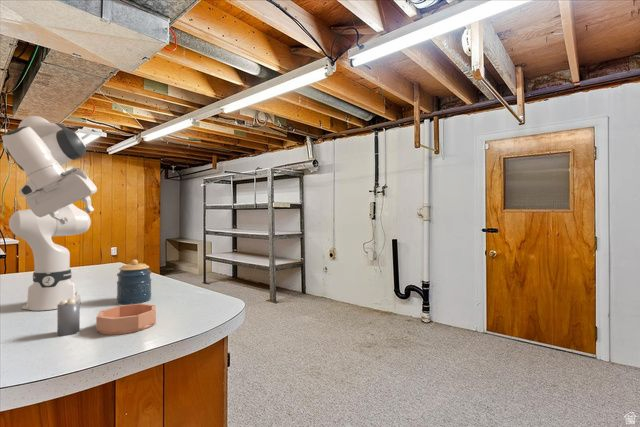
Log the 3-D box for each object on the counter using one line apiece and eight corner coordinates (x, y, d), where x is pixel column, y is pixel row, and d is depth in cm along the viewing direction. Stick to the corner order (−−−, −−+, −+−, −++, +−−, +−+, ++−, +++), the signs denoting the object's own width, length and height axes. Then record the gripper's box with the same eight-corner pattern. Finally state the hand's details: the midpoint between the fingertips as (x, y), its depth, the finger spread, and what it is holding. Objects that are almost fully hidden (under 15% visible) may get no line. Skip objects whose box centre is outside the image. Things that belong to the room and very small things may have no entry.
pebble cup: (59, 331, 104) (60, 298, 104) (81, 328, 106) (81, 296, 106) (55, 337, 99) (55, 302, 99) (77, 334, 101) (77, 300, 101)
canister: (150, 295, 150) (150, 256, 150) (152, 302, 139) (152, 260, 139) (116, 299, 143) (117, 258, 143) (116, 306, 132) (116, 262, 132)
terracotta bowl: (101, 322, 112) (102, 307, 112) (155, 315, 120) (155, 301, 120) (93, 338, 98) (93, 321, 98) (155, 329, 105) (155, 313, 105)
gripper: (85, 163, 103) (111, 201, 108) (30, 189, 105) (58, 226, 109) (72, 167, 97) (100, 207, 102) (14, 194, 99) (44, 233, 103)
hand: (78, 217), depth 106 cm, fingers open, 8 cm apart
